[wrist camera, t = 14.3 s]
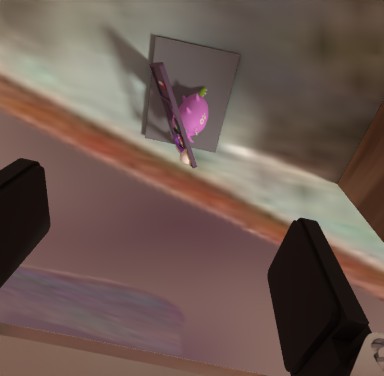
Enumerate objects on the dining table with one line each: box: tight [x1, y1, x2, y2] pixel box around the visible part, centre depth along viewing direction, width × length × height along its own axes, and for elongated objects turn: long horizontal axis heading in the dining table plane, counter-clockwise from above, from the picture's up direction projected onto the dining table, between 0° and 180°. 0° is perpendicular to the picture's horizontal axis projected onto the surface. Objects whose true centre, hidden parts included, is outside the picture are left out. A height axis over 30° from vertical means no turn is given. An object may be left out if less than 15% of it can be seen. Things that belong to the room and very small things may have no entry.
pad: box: [145, 36, 240, 152], centre depth 27 cm, size 8×10×1 cm
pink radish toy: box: [149, 62, 208, 168], centre depth 25 cm, size 7×5×9 cm
